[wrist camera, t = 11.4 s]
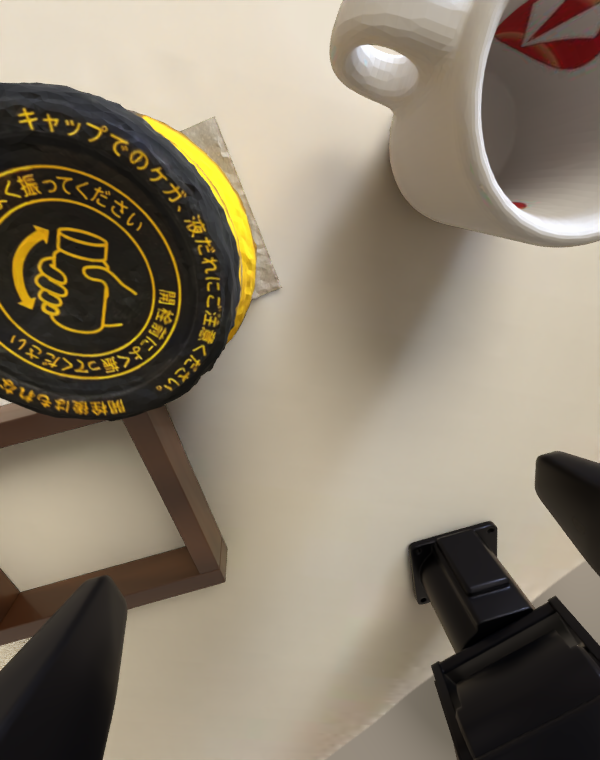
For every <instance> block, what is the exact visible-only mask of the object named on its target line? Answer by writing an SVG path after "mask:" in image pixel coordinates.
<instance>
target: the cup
mask: <svg viewBox="0 0 600 760" xmlns="http://www.w3.org/2000/svg"><path fill="white" fill-rule="evenodd" d="M370 45H378V46H382V47H386V48H389V49H392V50H394V51H396V52H398V53H400V54H402V55H401V56H400V55H391V54H386V53H384V52H381V51H379V50H377V49H375V48H373V47H372V46H370ZM330 62H331V66H332V69H333V71H334V73H335V74H336V76H337V77H338V79H339V80H340V81H341V82H342V83H343V84H344V85H345V86H347V87H348V88H349V89H351V90H353V91H355V92H356V93H358V94H360V95H362V96H364V97H366V98H368V99H370V100H372V101H375V102H378V103H380V104H382V105H384V106H386V107H388V108H390V109H391V110H392V111H393V113H394V115H393V119H392V124H391V129H390V139H389V154H390V163H391V168H392V172H393V175H394V178H395V181H396V183H397V186H398V188H399V190H400V191H401V193H402V195H403V196H404V198H405V199H406V200H407V201H408V203H409V204H410V205H411V206H412V207H413V208H414V209H416V210H417V211H418V212H419V213H421V214H422V215H424V216H426V217H427V218H430V219H432V220H434V221H436V222H439V223H443V224H446V225H450V226H454V227H459V228H463V229H467V230H471V231H476V232H480V233H484V234H489V235H493V236H497V237H502V238H506V239H510V240H514V241H519V242H523V243H527V244H532V245H537V246H543V247H573V246H579V245H585V244H589V243H593V242H596V241H599V240H600V0H343V2H342V3H341V6H340V8H339V11H338V14H337V17H336V20H335V24H334V27H333V30H332V35H331V41H330Z"/></svg>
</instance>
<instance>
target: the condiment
mask: <svg viewBox="0 0 600 760" xmlns="http://www.w3.org/2000/svg"><path fill="white" fill-rule="evenodd" d="M280 288H282V287H281V284H280V282H279V279H278V277H277V274H276V272H275V269H274V267H273V264H272V261H271V259H270V256H269V254H268V251H267V249H266V246H265V244H264V241H263V239H262V236H261V234H260V231H259V228H258V226H257V223H256V221H255V218H254V216H253V213H252V211H251V208H250V206H249V203H248V200H247V198H246V195H245V193H244V190H243V188H242V185H241V183H240V180H239V178H238V175H237V172H236V170H235V167H234V164H233V162H232V160H231V157H230V154H229V152H228V149H227V147H226V144H225V142H224V139H223V137H222V134H221V131H220V129H219V126H218V124H217V121H216V119H215V117H212V118H210V119H208V120H205V121H203V122H201V123H199V124H196V125H194V126H192V127H189V128H187V129H185V130H183V131H180V132H179V131H177V130H175V129H173V128H171V127H170V126H168V125H167V124H165V123H163V122H160V121H158V120H155V119H153V118H151V117H148V116H146V115H142V114H139V113H137V112H135V111H130V110H126V109H124V108H123V107H122V106H121V105H120V104H118V103H114V102H111V101H108V100H105V99H104V98H102V97H100V96H95V95H92V94H90V93H84V92H81V91H78V90H75V89H73V88H70V87H68V86H62V85H53V84H43V83H0V398H2V399H5V400H7V401H10V402H12V403H14V404H17V405H19V406H21V407H24V408H26V409H29V410H32V411H34V412H37V413H40V414H44V415H48V416H51V417H54V418H74V419H84V420H108V421H115V420H120V419H125V418H129V417H133V416H137V415H139V414H142V413H144V412H147V411H150V410H153V409H156V408H160V407H162V406H163V405H164V404H166V403H168V402H170V401H173V400H175V399H177V398H179V397H180V396H182V395H183V394H185V393H186V392H188V391H189V390H190V389H191V388H192V387H193V386H194V385H196V384H197V383H198V381H199V379H200V377H201V376H202V375H203V374H205V373H206V372H207V371H210V370H211V369H212V368H213V366H214V363H215V362H216V359H217V358H218V357H219V356H220V354H221V352H222V351H223V350H224V349H225V345H226V344H227V343H228V342H229V341H230V340H231V339H232V338H233V336H234V335H235V334H236V332H237V331H238V329H239V327H240V325H241V324H242V322H243V319H244V317H245V314H246V312H247V310H248V308H249V306H250V302H251V300H252V299H255V298H257V297H259V296H262V295H264V294H267V293H269V292H272V291H274V290H277V289H280Z"/></svg>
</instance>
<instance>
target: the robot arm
mask: <svg viewBox="0 0 600 760" xmlns="http://www.w3.org/2000/svg"><path fill="white" fill-rule="evenodd" d="M535 490H536V493H537V495H538V497H539V498H540V500H541V501H542V502H543V504H544V505H545V506H546V508H547V509H548V510H549V512H550V513H551V514H552V516H553V517H554V518H555V520H556V521H557V522H558V524H559V525H560V526H561V528H562V529H563V531H564V532H565V533H566V535H567V536H568V537H569V539H570V540H571V541H572V543H573V544H574V545H575V547H576V548H577V549H578V551H579V552H580V553H581V555H582V556H583V557H584V558H585V560H586V561H587V562H588V563H589V565H590V566H591V567H592V568H593V569H594V571H595V572H596V573H597V574H598V575H599V576H600V463H597V462H593V461H590V460H587V459H584V458H580V457H577V456H574V455H571V454H568V453H564V452H561V451H554V452H551V453H547V454H543V455H540V456H539V457H538V458H537V460H536V470H535ZM409 555H410V563H411V570H412V577H413V585H414V592H415V598H416V600H417V602H418V604H426V603H429V602H431V604H432V606H433V608H434V610H435V612H436V614H437V616H438V618H439V620H440V622H441V624H442V626H443V628H444V630H445V633H446V635H447V637H448V639H449V641H450V643H451V645H452V647H453V649H454V651H455V653H456V654H454V655H453V656H451V657H449V658H447V659H445V660H444V661H442V662H439V661H438V662H436V663H434V664H433V665H431V667H432V670H433V674H434V677H435V681H434V682H435V686H436V688H437V692H438V695H439V698H440V701H441V705H442V708H443V711H444V714H445V717H446V720H447V724H448V727H449V730H450V733H451V736H452V740H453V743H454V748H455V753H456V757H457V760H600V646H599V645H598V643H597V642H596V641H595V640H594V639H593V638H592V637H591V635H590V634H589V633H588V632H587V631H586V630H585V629H584V628H583V627H582V625H581V624H580V623H579V622H578V621H577V620H576V618H575V617H574V616H573V615H572V614H571V613H570V612H569V611H568V610H567V608H566V607H565V606H564V605H563V604H562V603H561V601H560V600H559V599H558V598H557V597H556V596H554V597H552V598H550V599H549V600H548V602H547V603H546V604H544V605H542V606H540V607H538V608H537V609H535V608H534V606H533V605H532V604H531V602H530V601H529V600H528V598H527V597H526V596H525V594H524V593H523V592H522V590H521V589H520V588H519V586H518V585H517V584H516V582H515V581H514V580H513V578H512V577H511V576H510V574H509V573H508V572H507V570H506V569H505V568H504V566H503V565H502V564H501V562H500V561H499V560H498V558H497V527H496V526H495V524H494V523H493V522H491V521H488V522H484V523H480V524H477V525H473V526H470V527H466V528H463V529H459V530H456V531H452V532H449V533H445V534H442V535H438V536H435V537H431V538H428V539H424V540H421V541H417V542H414V543H412V544H411V545H410V546H409ZM126 620H127V603H126V600H125V598H124V596H123V595H122V593H121V592H120V590H119V589H118V587H117V586H116V584H115V583H114V581H113V579H112V578H111V577H110V576H108V575H102V576H99V577H95V578H91V579H88V580H86V581H85V582H84V583H82V584H81V585H80V587H79V588H78V589H77V590H76V591H75V592H74V593H73V594H72V595H71V596H70V597H69V598H68V599H67V600H66V601H65V603H64V604H63V605H62V606H61V607H60V608H59V609H58V610H57V611H56V612H55V613H54V614H53V615H52V616H51V617H50V619H49V620H48V621H47V622H46V623H45V624H44V625H43V626H42V627H41V628H40V629H39V630H38V631H37V632H36V634H35V635H34V636H33V637H32V638H31V639H30V640H29V641H28V642H27V643H26V644H25V645H24V646H23V647H22V648H21V650H20V651H19V652H18V653H17V654H16V655H15V656H14V657H13V658H12V659H11V660H10V661H9V662H8V663H7V664H6V666H5V667H4V668H3V669H2V670H1V671H0V760H103V756H104V751H105V747H106V742H107V738H108V733H109V729H110V724H111V720H112V715H113V710H114V705H115V700H116V693H117V687H118V680H119V672H120V665H121V657H122V650H123V642H124V635H125V627H126ZM577 645H578V646H577Z"/></svg>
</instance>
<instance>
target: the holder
mask: <svg viewBox="0 0 600 760" xmlns="http://www.w3.org/2000/svg"><path fill="white" fill-rule="evenodd" d="M122 420H123V422H124V424H125V426H126V428H127V430H128V432H129V434H130V436H131V438H132V440H133V442H134V444H135V446H136V448H137V450H138V452H139V454H140V456H141V458H142V460H143V462H144V464H145V466H146V468H147V470H148V472H149V473H150V475H151V477H152V479H153V481H154V483H155V485H156V487H157V489H158V491H159V493H160V495H161V497H162V499H163V501H164V503H165V505H166V507H167V509H168V511H169V513H170V515H171V517H172V519H173V521H174V523H175V525H176V527H177V529H178V531H179V533H180V535H181V537H182V539H183V541H184V543H185V545H186V546H185V547H182V548H178V549H175V550H171V551H167V552H164V553H160V554H157V555H153V556H149V557H146V558H142V559H139V560H135V561H131V562H128V563H124V564H121V565H117V566H113V567H110V568H106V569H103V570H99V571H95V572H92V573H88V574H85V575H81V576H77V577H74V578H70V579H67V580H63V581H59V582H56V583H52V584H49V585H45V586H41V587H38V588H34V589H31V590H27V591H23V592H20V593H19V590H18V589H17V588H16V587H15V586H14V585H13V583H12V582H11V581H10V580H9V579H8V577H7V576H6V575H5V574H4V573H3V572H2V570H1V569H0V646H1V645H4V644H8V643H11V642H15V641H18V640H22V639H25V638H29V637H32V636H34V635H35V634H36V632H37V631H38V630H39V629H40V628H41V627H42V626H43V625H44V624H45V623H46V622H47V621H48V620H49V619H50V617H51V616H52V615H53V614H54V613H55V612H56V611H57V610H58V609H59V608H60V607H61V606H62V605H63V604H64V603H65V601H66V600H67V599H68V598H69V597H70V596H71V595H72V594H73V593H74V592H75V591H76V590H77V589H78V588H79V587H80V585H81V584H82V583H84V582H85V581H86V580H88V579H91V578H95V577H99V576H102V575H108V576H110V577H111V578H112V579H113V581H114V583H115V584H116V586H117V587H118V589H119V590H120V592H121V593H122V595H123V596H124V598H125V600H126V603H127V610H128V609H132V608H135V607H139V606H142V605H146V604H149V603H153V602H156V601H160V600H163V599H167V598H171V597H174V596H178V595H181V594H185V593H188V592H192V591H195V590H199V589H202V588H206V587H209V586H213V585H217V584H220V583H224V582H225V581H226V564H227V547H226V544H225V542H224V540H223V538H222V535H221V533H220V531H219V529H218V526H217V524H216V522H215V519H214V517H213V515H212V513H211V510H210V508H209V506H208V503H207V501H206V499H205V497H204V494H203V492H202V490H201V487H200V485H199V483H198V481H197V478H196V476H195V474H194V471H193V469H192V467H191V465H190V462H189V460H188V458H187V455H186V453H185V451H184V449H183V446H182V444H181V442H180V439H179V437H178V435H177V433H176V430H175V428H174V426H173V423H172V421H171V419H170V417H169V414H168V412H167V410H166V407H165V405H163V406H162V407H160V408H156V409H153V410H150V411H147V412H144V413H142V414H139V415H137V416H133V417H129V418H125V419H122ZM102 421H106V420H84V419H74V418H54V417H51V416H48V415H44V414H40V413H37V412H34V411H32V410H29V409H26V408H24V407H21V406H19V405H17V404H14V403H11V404H7V405H3V406H0V448H3V447H7V446H11V445H14V444H18V443H22V442H26V441H30V440H33V439H37V438H41V437H45V436H49V435H52V434H56V433H60V432H64V431H68V430H72V429H75V428H79V427H83V426H87V425H91V424H94V423H98V422H102Z"/></svg>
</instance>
